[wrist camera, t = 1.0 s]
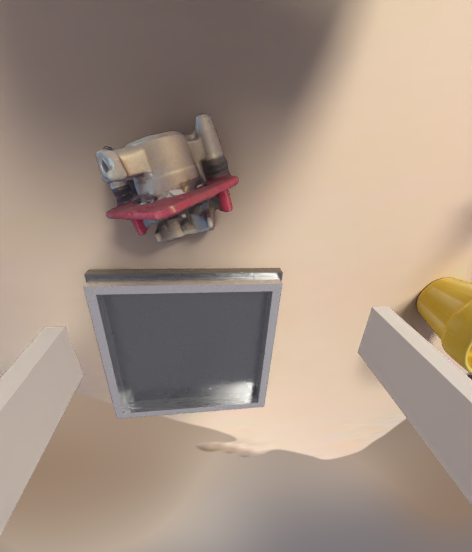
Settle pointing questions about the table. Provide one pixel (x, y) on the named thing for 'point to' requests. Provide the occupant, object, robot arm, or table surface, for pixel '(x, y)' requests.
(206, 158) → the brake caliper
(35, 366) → the robot arm
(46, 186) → the table surface
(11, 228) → the table surface
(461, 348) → the plant pot
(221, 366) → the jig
